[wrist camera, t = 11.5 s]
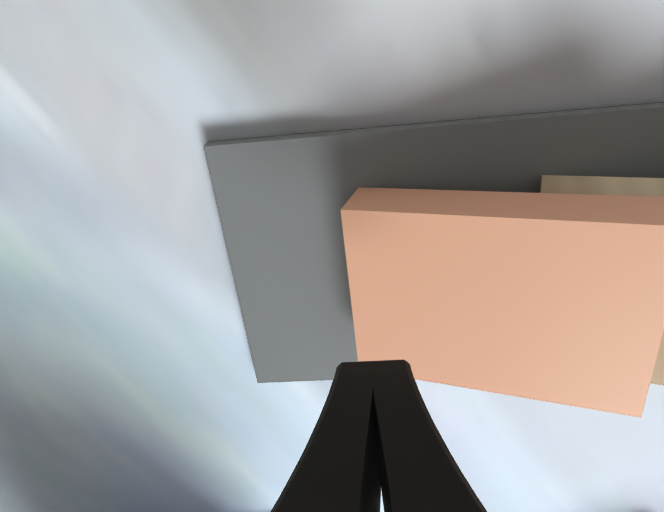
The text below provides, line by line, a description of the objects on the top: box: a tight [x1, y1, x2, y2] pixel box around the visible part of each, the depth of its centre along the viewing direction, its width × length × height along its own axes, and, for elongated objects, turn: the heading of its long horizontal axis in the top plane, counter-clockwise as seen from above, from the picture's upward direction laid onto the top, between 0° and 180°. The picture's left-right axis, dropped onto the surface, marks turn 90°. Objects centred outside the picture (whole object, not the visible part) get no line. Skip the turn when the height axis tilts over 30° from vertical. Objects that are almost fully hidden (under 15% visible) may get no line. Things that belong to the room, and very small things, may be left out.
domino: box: [341, 187, 664, 417], centre depth 12 cm, size 1×5×7 cm
